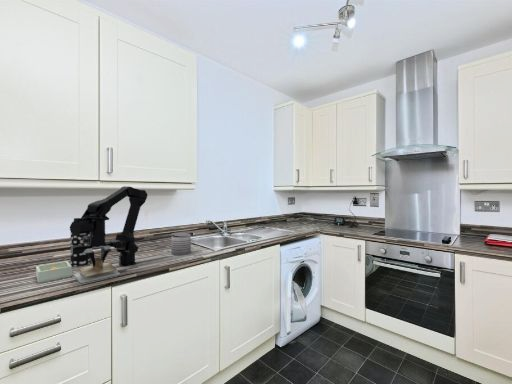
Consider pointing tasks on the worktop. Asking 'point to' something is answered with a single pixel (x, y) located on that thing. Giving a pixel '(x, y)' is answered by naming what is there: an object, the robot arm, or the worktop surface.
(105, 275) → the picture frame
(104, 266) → the cover
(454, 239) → the worktop surface
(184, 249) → the can
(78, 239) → the white-spotted black cylinder
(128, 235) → the robot arm
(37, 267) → the dish
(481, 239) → the worktop surface
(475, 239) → the worktop surface
